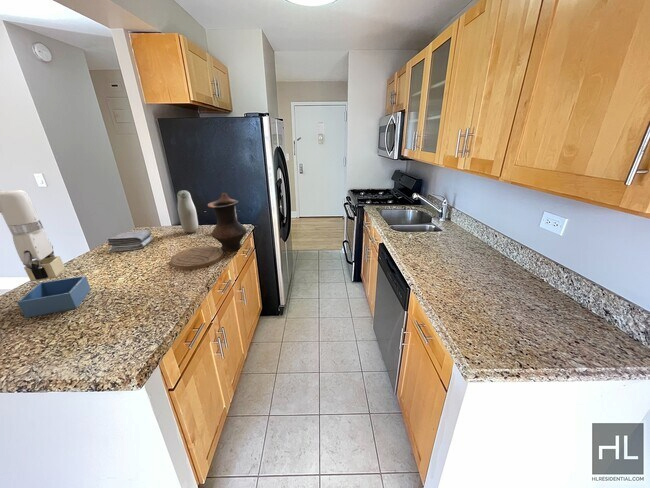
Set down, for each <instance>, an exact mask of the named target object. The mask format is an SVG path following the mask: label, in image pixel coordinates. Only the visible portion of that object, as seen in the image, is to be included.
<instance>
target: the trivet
mask: <svg viewBox="0 0 650 488" xmlns="http://www.w3.org/2000/svg"><path fill="white" fill-rule="evenodd" d="M224 255H225V254H224V251H223V250H222V249H221V247H218V246H214V245H201V246H194V247H190V248H186V249H183V250H181V251H179V252H176V253H175V254H173V255H172V256H171V258H170V260H169V262H170V265H171V266H172V268H174V269H176V270H177V269H178V270H182V271H183V270H185V271H186V270H187V271H189V270H198V269H202V268H206V267H209V266H210V267H211V266H212V265H215V264H217V263H218V262H220V261H221V260H222V259H223V258H224Z"/></svg>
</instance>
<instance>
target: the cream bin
mask: <svg viewBox="0 0 650 488" xmlns="http://www.w3.org/2000/svg"><path fill="white" fill-rule="evenodd" d="M34 260H37V259H34ZM41 263H42V268H43V267H44V269H45V271H46V273H47V275H48V278H45V279H38V280H36V279H35V277H34V275H33V273H32V271H31V270H30V269H29V268H27V266H25V265H24V267H23V269H24V271H25V273H26V275H27V276H28V278H29V280H30V282H36V281H37V282H38V281H43V280H51V279H57V278H58V277H59V276H60V275H61V274H62V273H63V272H65V271H66V267H65V265H64V262H63V260H62V258H61V256H60V255H58V256H55V257H50V258H44V259H42V260H41ZM33 264H36V265H37V262H33Z"/></svg>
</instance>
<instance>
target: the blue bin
mask: <svg viewBox="0 0 650 488" xmlns="http://www.w3.org/2000/svg"><path fill="white" fill-rule="evenodd" d="M91 290H92V288H91V285H90V283H89V280H88V278H87V276H86V275H82V276H73V277H69V278H68V277H67V278H62V279H55V280H49V281H41V282H39V283H37V285H36V286H34V287H33V288H31V290H29V291H28V292H27V293H26V294H25V295H24V296H23V297H21V298H20V299H19V300H18V301H17V302H16V304H17V305H18V307H19V309H20V311H21V313H22V315H23V316H24V318H25V319H29V318H34V317H38V316H43V315H49V314H54V313H59V312H66V311H70V310H75V309H77V308H78V307H79V306H80V305H81V303H82V302H83V301H84V299H85V298H86V297H87V296H88V294H89V293H90V292H91Z"/></svg>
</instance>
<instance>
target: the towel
mask: <svg viewBox="0 0 650 488" xmlns="http://www.w3.org/2000/svg"><path fill="white" fill-rule="evenodd" d="M151 235H152V232H151V231H150V230H148V229H147V230H146V229H140V230H135V231H130V232H121V233H118V234H117V235H115V236H114V237H107V246H110V247H109V249H108V252H109V253H115V252H126V251H127V252H128V251H136V250H141V249H144V247H145V246H147V245H148V244H150V242H152V241H153V240H154V239H153V237H152V236H151Z"/></svg>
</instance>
